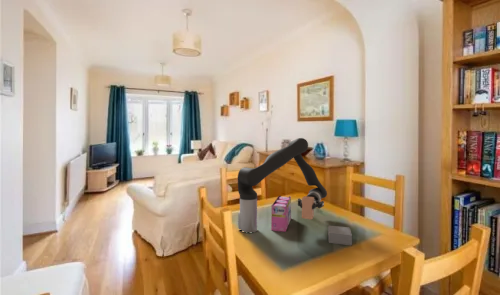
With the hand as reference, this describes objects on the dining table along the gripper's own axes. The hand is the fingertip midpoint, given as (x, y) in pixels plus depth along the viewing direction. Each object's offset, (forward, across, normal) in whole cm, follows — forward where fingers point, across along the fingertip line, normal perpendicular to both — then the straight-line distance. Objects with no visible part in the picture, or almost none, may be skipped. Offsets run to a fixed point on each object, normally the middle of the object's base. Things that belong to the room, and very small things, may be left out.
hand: (307, 206), depth 121 cm
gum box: (-13, -16, +15) cm, 26 cm away
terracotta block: (-3, 0, +6) cm, 7 cm away
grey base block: (-3, +15, +15) cm, 22 cm away
